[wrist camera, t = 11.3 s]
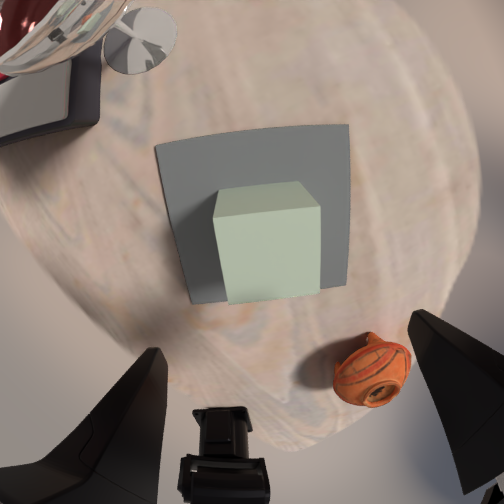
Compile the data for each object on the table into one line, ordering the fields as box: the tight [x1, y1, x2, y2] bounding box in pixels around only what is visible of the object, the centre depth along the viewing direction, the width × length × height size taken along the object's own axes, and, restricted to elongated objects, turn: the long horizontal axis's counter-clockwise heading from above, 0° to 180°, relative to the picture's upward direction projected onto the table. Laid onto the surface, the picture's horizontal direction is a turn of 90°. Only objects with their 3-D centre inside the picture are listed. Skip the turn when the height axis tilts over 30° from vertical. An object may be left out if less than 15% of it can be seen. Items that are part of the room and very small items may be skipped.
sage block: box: [213, 181, 321, 305], centre depth 16 cm, size 5×5×5 cm
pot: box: [333, 332, 411, 408], centre depth 23 cm, size 8×8×7 cm
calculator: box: [0, 38, 103, 147], centre depth 9 cm, size 11×4×15 cm
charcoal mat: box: [156, 124, 350, 305], centre depth 18 cm, size 12×12×1 cm
